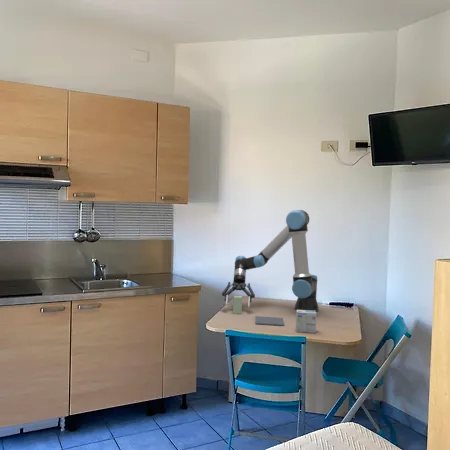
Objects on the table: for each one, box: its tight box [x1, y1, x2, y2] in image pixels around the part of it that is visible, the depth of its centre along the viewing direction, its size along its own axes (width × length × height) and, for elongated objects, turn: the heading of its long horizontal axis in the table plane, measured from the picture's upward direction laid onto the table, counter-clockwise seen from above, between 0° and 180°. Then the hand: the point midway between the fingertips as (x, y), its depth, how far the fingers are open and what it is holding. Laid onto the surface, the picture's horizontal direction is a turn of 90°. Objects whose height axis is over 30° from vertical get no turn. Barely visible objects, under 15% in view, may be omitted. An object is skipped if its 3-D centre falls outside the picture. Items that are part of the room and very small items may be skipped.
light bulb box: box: [295, 310, 318, 334], centre depth 250 cm, size 11×7×11 cm, turn 84°
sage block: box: [232, 295, 243, 315], centre depth 285 cm, size 5×5×10 cm
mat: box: [254, 315, 285, 327], centre depth 267 cm, size 16×16×1 cm
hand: (237, 305), depth 283 cm, fingers open, 13 cm apart
